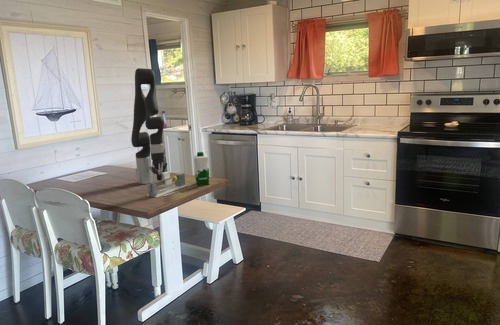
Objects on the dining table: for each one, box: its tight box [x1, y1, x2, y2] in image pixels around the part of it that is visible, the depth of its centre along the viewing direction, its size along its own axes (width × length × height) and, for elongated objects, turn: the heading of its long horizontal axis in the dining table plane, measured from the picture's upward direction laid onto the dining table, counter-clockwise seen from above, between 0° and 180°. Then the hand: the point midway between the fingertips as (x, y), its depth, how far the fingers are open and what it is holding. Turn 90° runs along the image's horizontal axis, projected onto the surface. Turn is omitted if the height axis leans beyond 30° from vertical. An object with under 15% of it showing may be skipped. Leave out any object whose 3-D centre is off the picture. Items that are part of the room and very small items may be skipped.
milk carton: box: [193, 151, 210, 186], centre depth 247 cm, size 9×9×20 cm
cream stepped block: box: [159, 171, 173, 188], centre depth 234 cm, size 5×5×8 cm
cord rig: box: [146, 172, 187, 198], centre depth 235 cm, size 27×8×8 cm, turn 150°
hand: (159, 180), depth 230 cm, fingers closed
